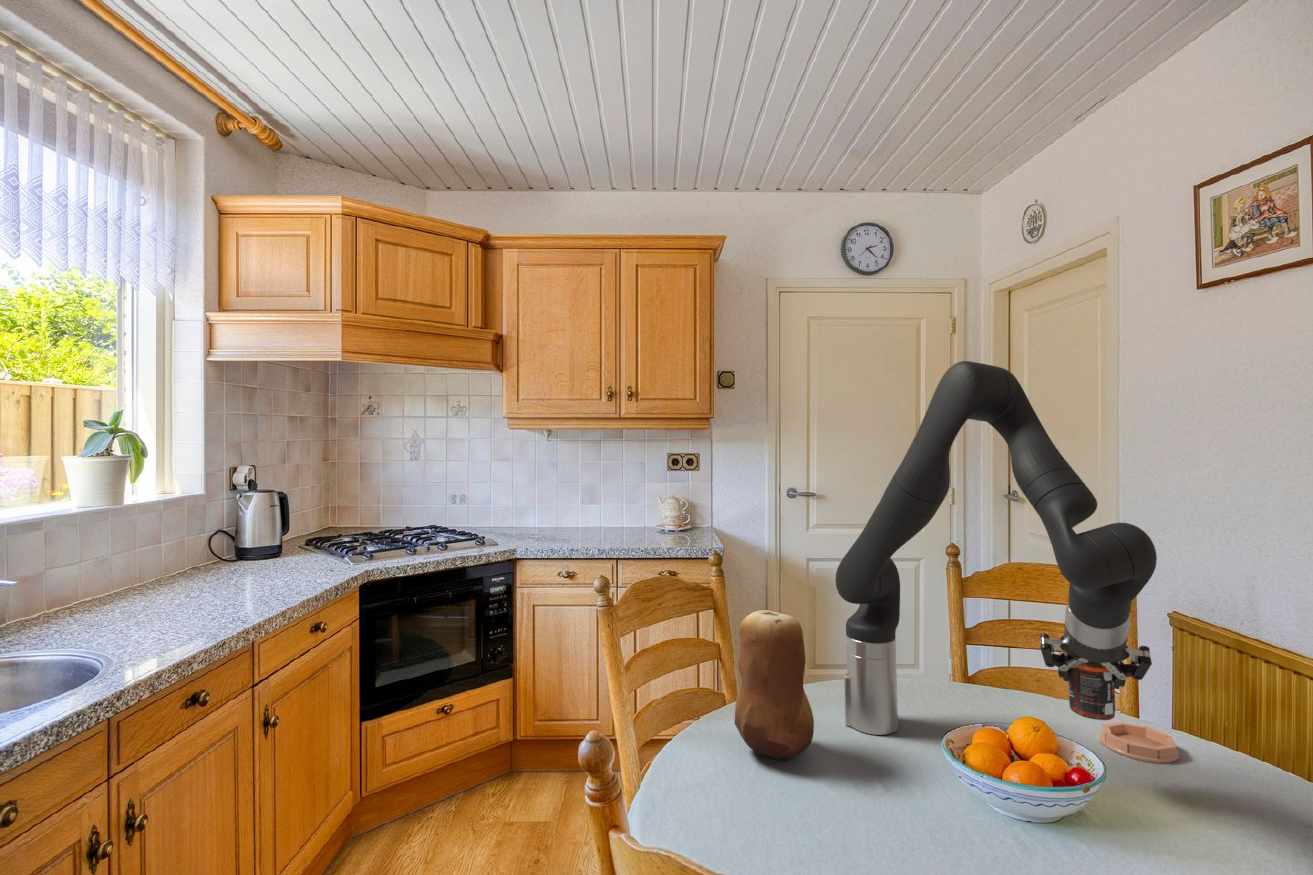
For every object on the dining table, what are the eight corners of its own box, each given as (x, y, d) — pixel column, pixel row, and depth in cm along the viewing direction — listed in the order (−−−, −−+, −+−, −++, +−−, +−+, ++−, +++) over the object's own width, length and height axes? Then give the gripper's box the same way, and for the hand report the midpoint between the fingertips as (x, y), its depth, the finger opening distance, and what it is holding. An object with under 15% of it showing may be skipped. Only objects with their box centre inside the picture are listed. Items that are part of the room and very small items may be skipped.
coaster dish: (1104, 753, 106) (1103, 740, 106) (1097, 728, 116) (1096, 716, 116) (1186, 769, 101) (1185, 755, 101) (1171, 741, 110) (1171, 729, 110)
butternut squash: (808, 737, 114) (805, 603, 115) (820, 774, 101) (816, 623, 102) (734, 734, 116) (731, 603, 116) (736, 771, 102) (733, 622, 103)
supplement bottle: (1123, 723, 93) (1121, 649, 93) (1080, 720, 94) (1078, 646, 94) (1103, 707, 98) (1101, 637, 99) (1062, 704, 100) (1061, 635, 100)
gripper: (1155, 607, 86) (1143, 665, 96) (1036, 596, 94) (1036, 651, 104) (1164, 656, 82) (1150, 711, 92) (1038, 639, 89) (1038, 693, 99)
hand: (1089, 679), depth 98 cm, fingers closed on supplement bottle, 6 cm apart
